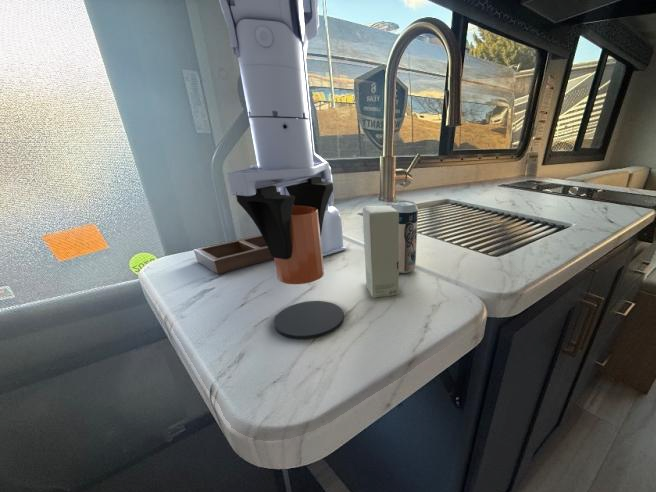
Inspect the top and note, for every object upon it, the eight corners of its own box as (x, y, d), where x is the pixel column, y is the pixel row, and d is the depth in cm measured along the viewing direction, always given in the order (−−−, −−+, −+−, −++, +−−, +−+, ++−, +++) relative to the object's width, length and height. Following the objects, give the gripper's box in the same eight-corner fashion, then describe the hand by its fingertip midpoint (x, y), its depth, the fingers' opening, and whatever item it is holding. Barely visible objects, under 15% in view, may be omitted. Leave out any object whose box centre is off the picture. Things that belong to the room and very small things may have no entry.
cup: (295, 264, 42) (286, 203, 39) (332, 270, 41) (326, 207, 37) (267, 280, 38) (254, 213, 34) (308, 287, 36) (298, 217, 32)
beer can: (413, 275, 56) (415, 206, 50) (387, 273, 56) (386, 205, 51) (417, 266, 60) (420, 201, 54) (392, 263, 60) (393, 199, 55)
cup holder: (197, 261, 60) (193, 249, 58) (278, 242, 71) (276, 231, 70) (218, 274, 55) (214, 261, 53) (301, 250, 66) (299, 239, 65)
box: (399, 295, 49) (401, 211, 42) (371, 299, 47) (369, 213, 41) (390, 282, 53) (390, 204, 47) (364, 285, 52) (361, 205, 46)
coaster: (316, 297, 47) (316, 295, 47) (357, 318, 42) (357, 315, 42) (260, 321, 41) (260, 318, 41) (301, 348, 36) (300, 345, 36)
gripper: (289, 121, 38) (303, 230, 45) (184, 114, 26) (224, 265, 33) (341, 122, 37) (348, 235, 43) (253, 114, 24) (281, 274, 31)
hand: (298, 249), depth 38 cm, fingers closed on cup, 5 cm apart
